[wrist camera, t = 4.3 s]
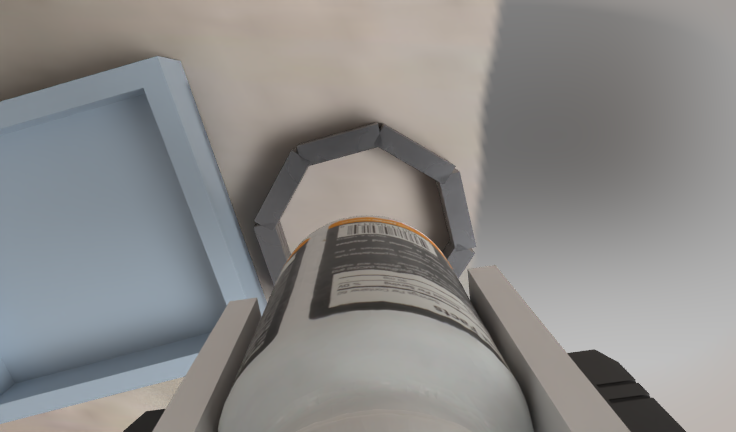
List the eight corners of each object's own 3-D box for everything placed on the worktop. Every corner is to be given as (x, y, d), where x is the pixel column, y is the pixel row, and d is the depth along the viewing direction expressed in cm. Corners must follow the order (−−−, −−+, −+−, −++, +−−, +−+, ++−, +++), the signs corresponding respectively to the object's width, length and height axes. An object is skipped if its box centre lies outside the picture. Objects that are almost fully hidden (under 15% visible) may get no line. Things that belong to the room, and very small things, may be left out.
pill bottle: (355, 400, 16) (354, 863, 6) (242, 282, 15) (26, 638, 5) (489, 304, 15) (717, 670, 6) (380, 171, 14) (433, 347, 4)
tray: (-123, 148, 21) (-184, 154, 19) (180, 60, 21) (157, 55, 18) (12, 397, 25) (-25, 430, 22) (276, 329, 24) (267, 354, 22)
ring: (237, 160, 22) (231, 164, 21) (439, 104, 22) (444, 105, 20) (300, 340, 24) (297, 353, 23) (482, 293, 24) (488, 303, 23)
